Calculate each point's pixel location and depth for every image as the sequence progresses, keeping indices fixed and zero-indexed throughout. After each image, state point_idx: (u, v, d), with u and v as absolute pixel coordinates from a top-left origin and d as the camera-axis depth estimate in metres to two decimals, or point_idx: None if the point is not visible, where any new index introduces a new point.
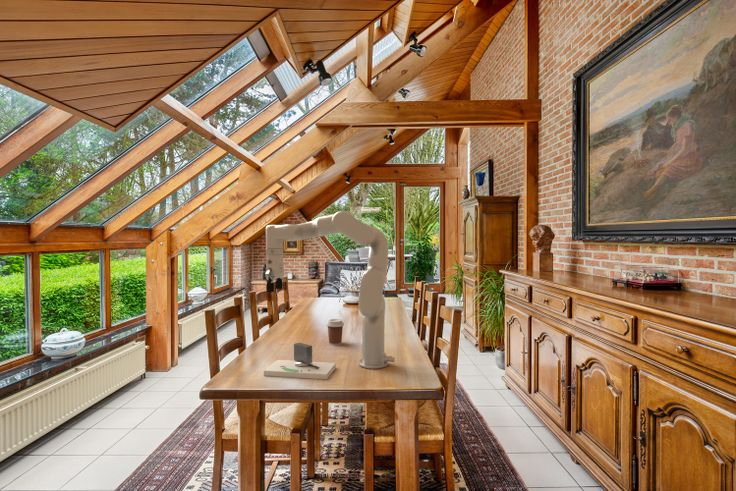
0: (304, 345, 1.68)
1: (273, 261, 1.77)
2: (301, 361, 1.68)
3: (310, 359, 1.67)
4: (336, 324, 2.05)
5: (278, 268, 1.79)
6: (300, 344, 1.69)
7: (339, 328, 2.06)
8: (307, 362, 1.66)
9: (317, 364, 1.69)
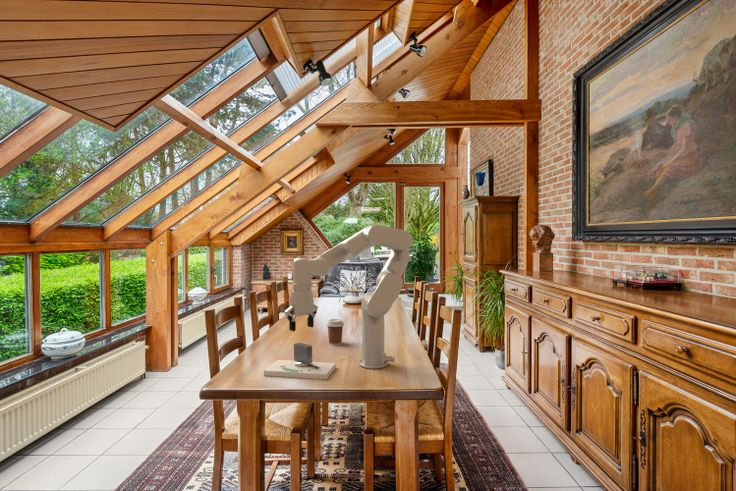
0: (304, 345, 1.68)
1: None
2: (301, 361, 1.68)
3: (310, 359, 1.67)
4: (336, 324, 2.05)
5: None
6: (300, 344, 1.69)
7: (339, 328, 2.06)
8: (307, 362, 1.66)
9: (317, 364, 1.69)
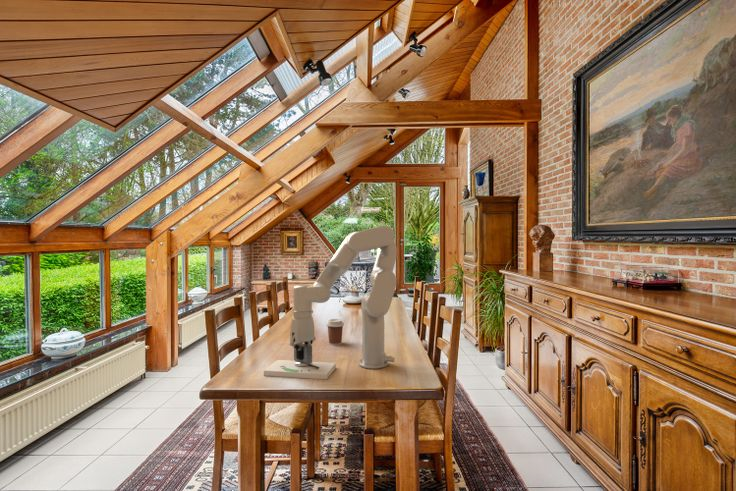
0: (304, 345, 1.68)
1: None
2: (301, 361, 1.68)
3: (310, 359, 1.67)
4: (336, 324, 2.05)
5: None
6: None
7: (339, 328, 2.06)
8: (307, 362, 1.66)
9: (317, 364, 1.69)
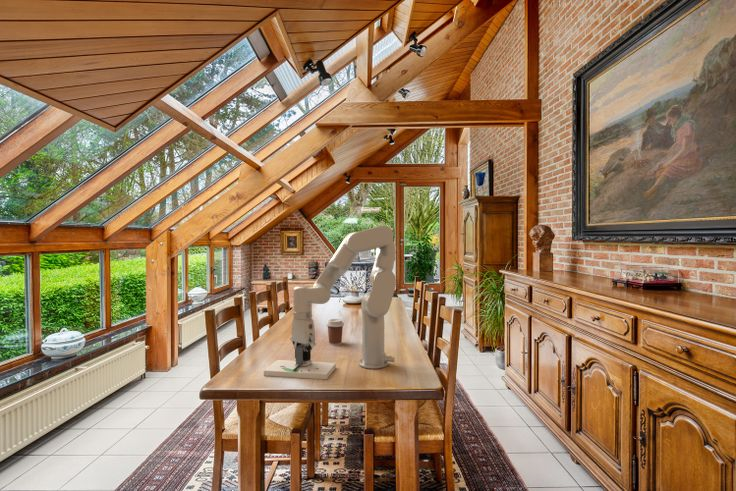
0: (301, 345, 1.68)
1: (313, 325, 1.67)
2: None
3: (300, 360, 1.65)
4: (336, 324, 2.05)
5: None
6: (302, 344, 1.70)
7: (339, 328, 2.06)
8: (296, 362, 1.66)
9: (317, 364, 1.69)
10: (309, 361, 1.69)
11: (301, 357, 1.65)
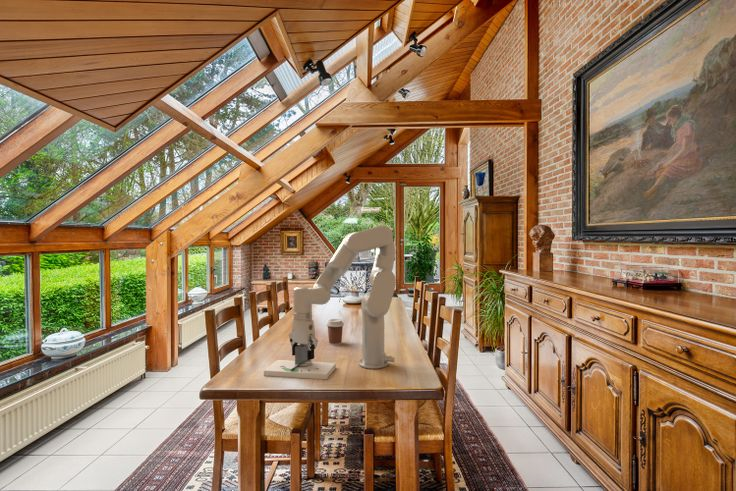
0: (301, 345, 1.68)
1: (313, 326, 1.67)
2: None
3: (299, 360, 1.65)
4: (336, 324, 2.05)
5: None
6: (302, 344, 1.70)
7: (339, 328, 2.06)
8: (296, 362, 1.66)
9: (317, 364, 1.69)
10: (309, 361, 1.69)
11: (300, 357, 1.65)
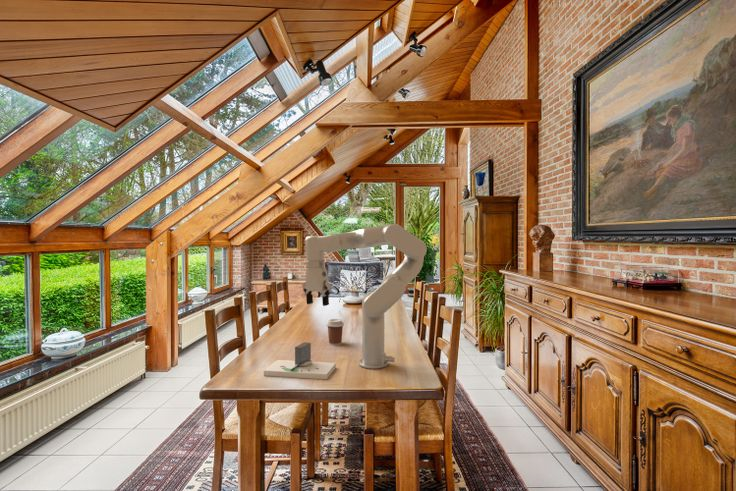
0: (301, 345, 1.68)
1: (326, 273, 1.72)
2: None
3: (299, 360, 1.65)
4: (336, 324, 2.05)
5: None
6: (302, 344, 1.70)
7: (339, 328, 2.06)
8: (296, 362, 1.66)
9: (317, 364, 1.69)
10: (309, 361, 1.69)
11: (300, 357, 1.65)
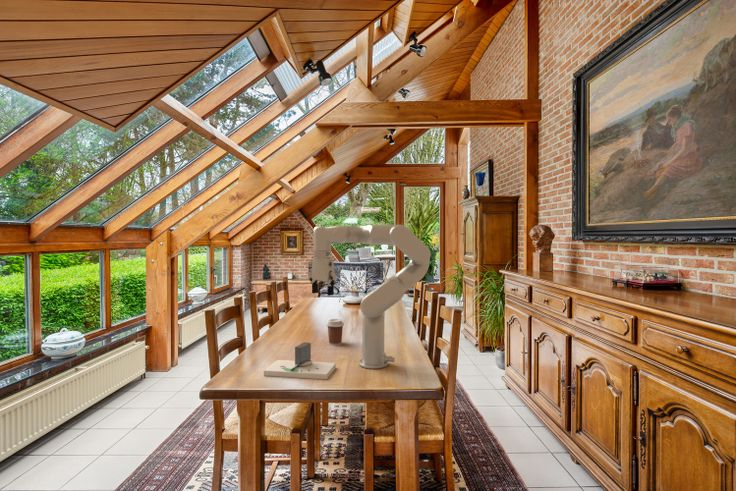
0: (301, 345, 1.68)
1: (332, 263, 1.74)
2: None
3: (299, 360, 1.65)
4: (336, 324, 2.05)
5: None
6: (302, 344, 1.70)
7: (339, 328, 2.06)
8: (296, 362, 1.66)
9: (317, 364, 1.69)
10: (309, 361, 1.69)
11: (300, 357, 1.65)
